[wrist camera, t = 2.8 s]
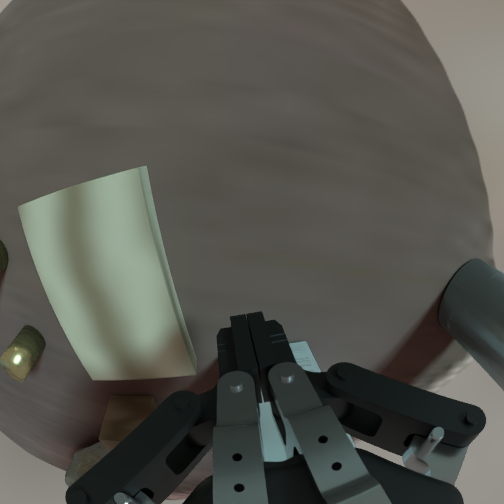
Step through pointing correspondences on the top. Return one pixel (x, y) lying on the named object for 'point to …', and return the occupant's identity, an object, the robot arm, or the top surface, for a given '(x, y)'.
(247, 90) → the top surface
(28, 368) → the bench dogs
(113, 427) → the walnut block
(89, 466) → the stone
